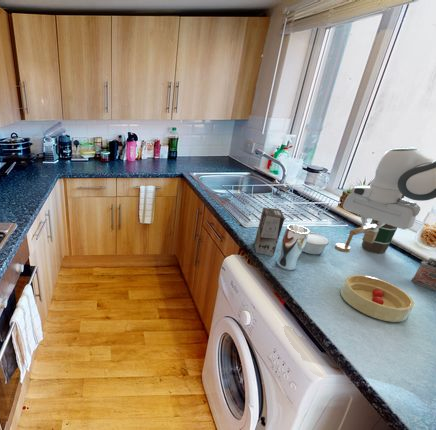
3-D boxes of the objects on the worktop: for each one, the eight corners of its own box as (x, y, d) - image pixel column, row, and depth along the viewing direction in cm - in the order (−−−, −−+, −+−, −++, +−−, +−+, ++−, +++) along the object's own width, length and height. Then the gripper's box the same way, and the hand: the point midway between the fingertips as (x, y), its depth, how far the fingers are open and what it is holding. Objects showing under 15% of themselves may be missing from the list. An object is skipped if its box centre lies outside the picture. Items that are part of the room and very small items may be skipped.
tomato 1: (383, 298, 88) (387, 291, 86) (378, 300, 87) (382, 293, 85) (373, 293, 90) (377, 286, 89) (369, 295, 89) (372, 288, 88)
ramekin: (312, 241, 120) (316, 230, 118) (331, 256, 110) (336, 244, 108) (286, 241, 120) (289, 230, 118) (303, 256, 110) (307, 244, 107)
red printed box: (411, 282, 96) (425, 257, 92) (411, 278, 98) (424, 253, 94) (445, 293, 91) (462, 267, 87) (444, 288, 93) (460, 263, 89)
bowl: (417, 314, 82) (425, 300, 80) (387, 330, 77) (395, 316, 75) (358, 282, 95) (364, 270, 93) (328, 294, 90) (334, 281, 87)
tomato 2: (383, 306, 84) (387, 299, 83) (378, 308, 83) (382, 301, 82) (373, 300, 86) (376, 293, 85) (368, 302, 86) (371, 296, 84)
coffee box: (274, 256, 109) (285, 218, 102) (255, 253, 111) (265, 215, 104) (271, 245, 117) (281, 209, 110) (253, 242, 119) (263, 206, 112)
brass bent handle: (344, 253, 100) (351, 235, 97) (331, 247, 104) (338, 230, 101) (375, 243, 107) (383, 226, 104) (362, 238, 110) (369, 221, 107)
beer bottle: (368, 252, 113) (394, 196, 103) (356, 243, 120) (379, 189, 110) (390, 255, 112) (418, 197, 102) (377, 245, 119) (402, 190, 109)
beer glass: (279, 257, 108) (290, 222, 102) (299, 265, 104) (312, 229, 97) (272, 265, 104) (283, 228, 97) (293, 273, 99) (306, 235, 93)
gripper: (427, 203, 92) (409, 240, 97) (357, 184, 109) (345, 217, 115) (417, 206, 89) (398, 244, 95) (347, 186, 107) (335, 220, 112)
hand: (369, 229), depth 105 cm, fingers closed on brass bent handle, 2 cm apart
